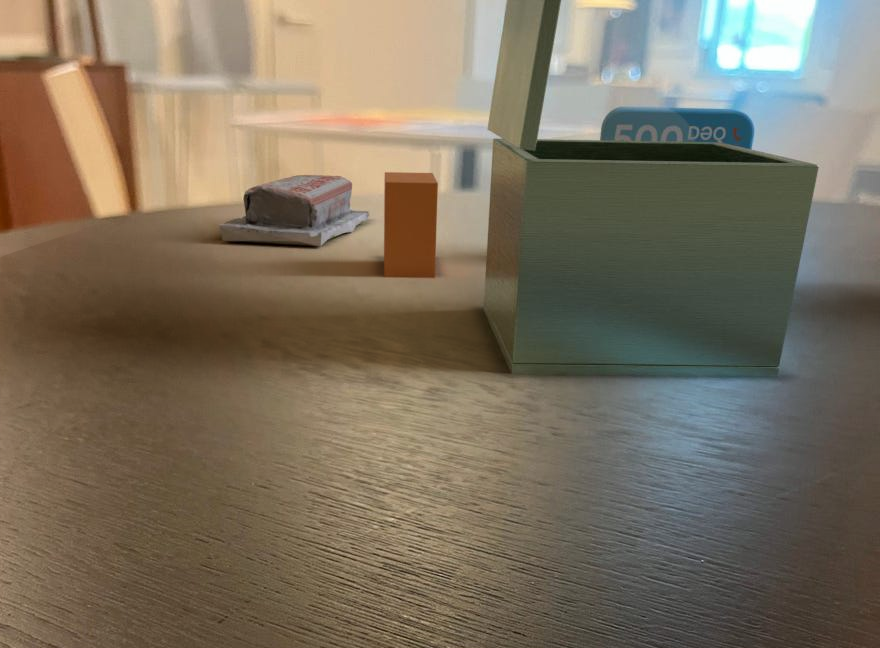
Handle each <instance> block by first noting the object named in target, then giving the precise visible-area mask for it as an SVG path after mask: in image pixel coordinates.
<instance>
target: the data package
mask: <svg viewBox="0 0 880 648" xmlns="http://www.w3.org/2000/svg"><path fill="white" fill-rule="evenodd" d="M754 137H755V126H754V122H753V120H752V118H751V117H750V116H749V114H747V113H745V112H743V111H739V110H736V109H731V108H705V107H703V108H699V107H698V108H697V107H661V106H655V107H654V106H619V107H616V108H615V107H614V109H611V110H610V111H609V112H608V113H607V114H606V115H605V117H604V119H603V121H602V123H601V127H600V137H599V140H606V141H664V142H721V143H725V144H729V145H734V146H738V147H742V148H747V149H751V150H753V143H754Z"/></svg>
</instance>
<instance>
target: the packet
mask: <svg viewBox="0 0 880 648" xmlns="http://www.w3.org/2000/svg"><path fill="white" fill-rule="evenodd" d="M438 190H439V183H438V181H437V178H436V176H435V174H434V173H433V172H401V171H399V172H398V171H397V172H395V171H391V172H389V171H385V172H384V195H383V196H384V199H383V201H384V202H383V203H384V204H383V205H384V206H383V207H384V208H383V210H384V211H383V212H384V213H383V218H384V219H383V272H384V273H383V274H384V278H404V279H405V278H407V279H409V278H410V279H412V278H413V279H436V259H437V258H436V257H437V255H436V254H437V225H438V224H437V222H438V196H439V191H438Z"/></svg>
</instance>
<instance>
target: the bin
mask: <svg viewBox="0 0 880 648" xmlns="http://www.w3.org/2000/svg"><path fill="white" fill-rule="evenodd" d="M819 167H820V166H819V165H818V164H815V163H811V162H807V161H802V160H799V159H795V158H794V159H793V158H790V157H785V156H781V155H778V154H773V153H768V152H765V151H760V150H755V149H752V150H751V149H747V148H742V147H738V146H734V145H729V144H725V143H721V142H664V141H606V140H600V139H599V140H598V139H540V138H537V143H536V149H535V151H531V150H524V149H519V148H518V147H516V146H514V145H513V144H511V143H509V142H508V141H506V140H504V139H503V138H493V139H492V152H491V171H490V187H489V188H490V190H489V207H488V223H487V225H488V226H487V228H488V229H487V240H486V241H487V245H486V258H485V259H486V262H485V278H484V279H485V280H484V298H483V301H484V302H483V313H484V314H485V316H486V319H487V321H488V323H489V326H490V328H491V330H492V332H493V334H494V337H495V340H496V341H497V344H498V346H499V348H500V350H501V353H502V355H503V358H504V360H505V363H506V364H507V367H508V370H509V372H510V374H511V375H574V376H576V375H578V376H579V375H580V376H581V375H582V376H583V375H584V376H586V375H587V376H658V377H660V376H662V377H663V376H664V377H665V376H667V377H668V376H669V377H670V376H671V377H682V376H683V377H754V378H757V377H758V378H760V377H761V378H777V377H778V375H779V369H780V367H779V366H780V363H781V358H782V354H783V350H784V349H783V348H784V343H785V338H786V333H787V328H788V323H789V318H790V314H791V309H792V303H793V299H794V293H795V288H796V285H797V284H796V283H797V279H798V273H799V268H800V264H801V258H802V254H803V248H804V242H805V239H806V234H807V233H806V232H807V228H808V223H809V218H810V212H811V208H812V203H813V199H814V198H813V197H814V193H815V189H816V188H815V187H816V183H817V178H818V173H819Z"/></svg>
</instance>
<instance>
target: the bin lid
mask: <svg viewBox="0 0 880 648" xmlns="http://www.w3.org/2000/svg"><path fill="white" fill-rule="evenodd" d="M561 4H562V0H506V3H505V10H504V17H503V23H502V31H501V35H500V36H501V37H500V42H499V43H500V44H499V51H498V57H497V62H496V70H495V76H494V82H493V89H492V95H491V101H490V102H491V103H490V110H489V115H488V123H487V131H489V132H491V133H492V134H494V135H496V136H498V137H499V138H500V139H504V140H506V141H508V142H509V143H511V144H513V145H514V146H516V147H518V148H519V149H524V150H531V151H535V149H536V143H537V139H538V138H539V137H538V136H539V131H540V125H541V119H542V113H543V107H544V102H545V97H546V92H547V91H546V90H547V85H548V79H549V74H550V68H551V62H552V57H553V50H554V45H555V40H556V32H557V27H558V21H559V16H560V11H561Z"/></svg>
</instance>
